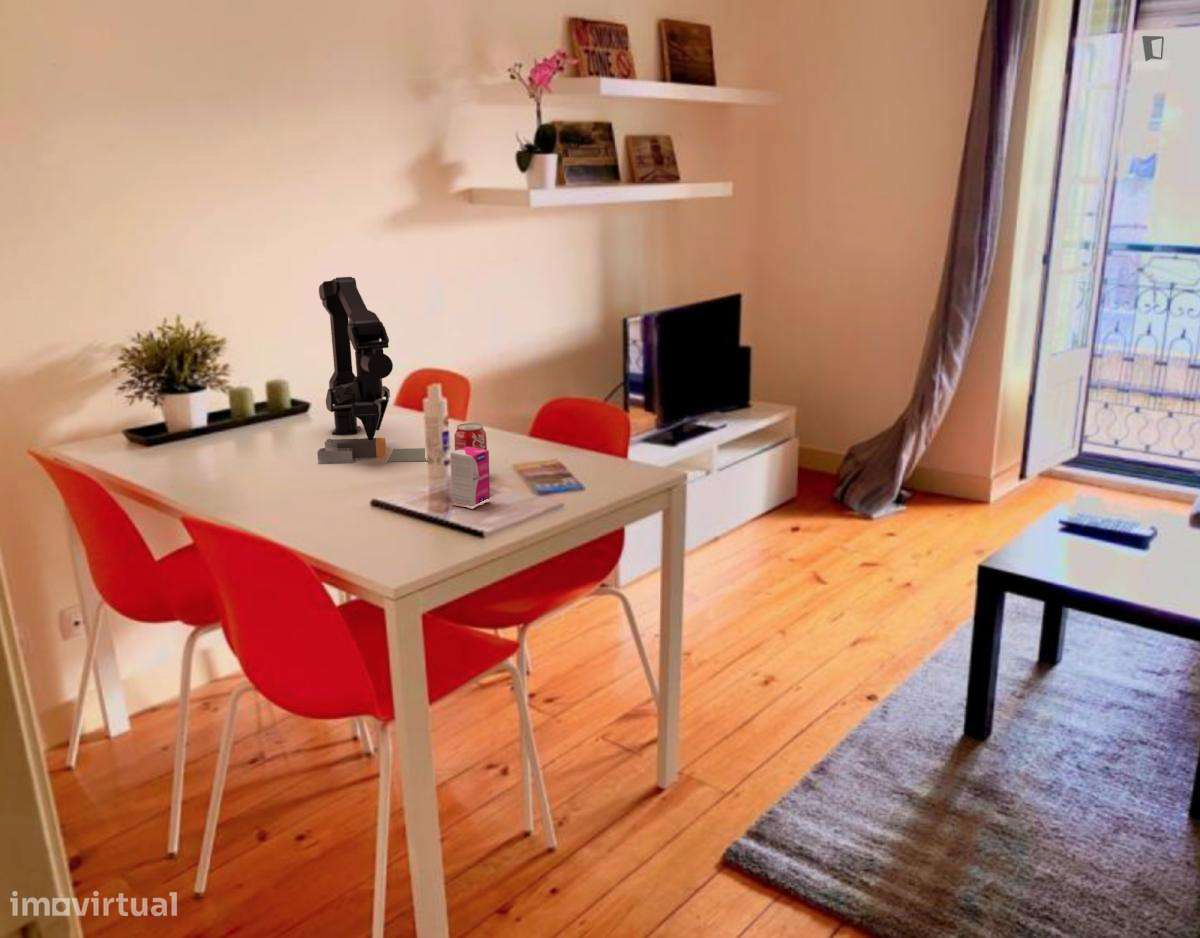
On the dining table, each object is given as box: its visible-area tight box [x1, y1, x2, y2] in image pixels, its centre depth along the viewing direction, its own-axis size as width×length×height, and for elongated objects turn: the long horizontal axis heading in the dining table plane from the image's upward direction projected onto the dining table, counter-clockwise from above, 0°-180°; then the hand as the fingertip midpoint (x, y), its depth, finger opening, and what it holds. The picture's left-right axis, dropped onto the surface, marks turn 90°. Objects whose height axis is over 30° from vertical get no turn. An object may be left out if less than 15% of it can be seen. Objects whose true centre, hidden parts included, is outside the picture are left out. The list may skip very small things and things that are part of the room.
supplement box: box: [450, 446, 491, 506], centre depth 197 cm, size 6×6×12 cm
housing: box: [316, 437, 357, 465], centre depth 232 cm, size 11×8×3 cm
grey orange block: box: [337, 437, 387, 459], centre depth 233 cm, size 4×11×4 cm, turn 97°
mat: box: [386, 447, 427, 463], centre depth 234 cm, size 11×11×1 cm
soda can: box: [454, 422, 488, 451], centre depth 214 cm, size 7×7×12 cm
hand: (373, 435), depth 232 cm, fingers open, 9 cm apart
